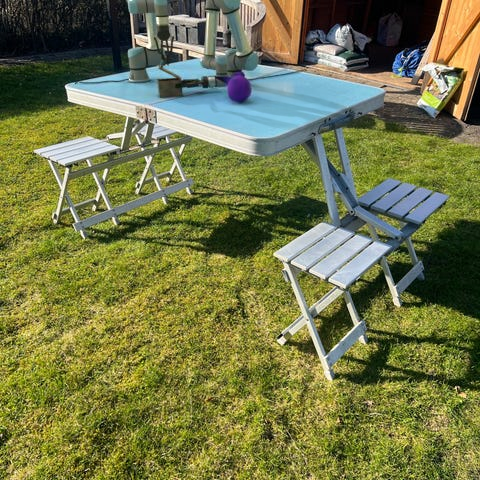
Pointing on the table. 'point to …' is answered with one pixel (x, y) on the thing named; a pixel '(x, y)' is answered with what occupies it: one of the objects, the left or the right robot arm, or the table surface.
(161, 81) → the chest
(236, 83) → the toy
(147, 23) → the left robot arm
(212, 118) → the table surface
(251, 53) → the right robot arm
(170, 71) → the lid
